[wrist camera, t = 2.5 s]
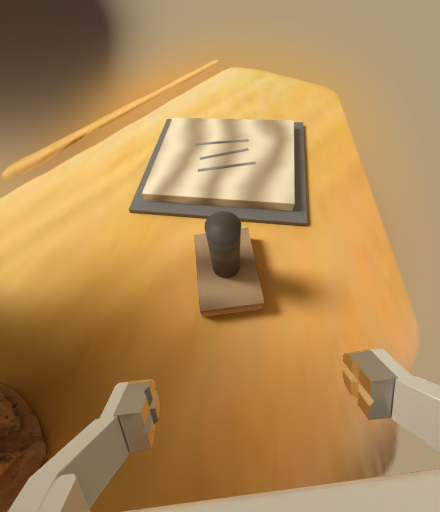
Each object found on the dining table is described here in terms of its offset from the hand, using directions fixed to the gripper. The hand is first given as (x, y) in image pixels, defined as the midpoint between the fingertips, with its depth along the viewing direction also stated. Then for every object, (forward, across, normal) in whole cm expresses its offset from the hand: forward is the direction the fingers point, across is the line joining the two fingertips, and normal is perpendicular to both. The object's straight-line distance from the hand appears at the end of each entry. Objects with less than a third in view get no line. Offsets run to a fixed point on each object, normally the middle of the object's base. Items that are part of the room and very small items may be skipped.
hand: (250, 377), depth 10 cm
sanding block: (+20, 0, +3) cm, 20 cm away
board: (+33, -2, -12) cm, 36 cm away
